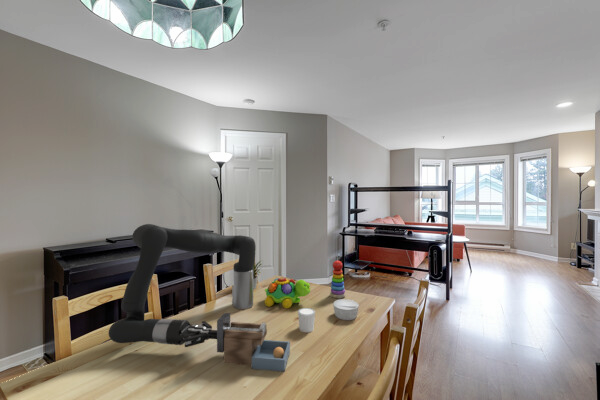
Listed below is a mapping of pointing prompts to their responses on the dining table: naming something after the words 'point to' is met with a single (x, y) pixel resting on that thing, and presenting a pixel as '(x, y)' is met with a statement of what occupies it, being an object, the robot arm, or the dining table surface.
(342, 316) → the ramekin
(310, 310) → the white cup
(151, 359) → the dining table surface
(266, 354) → the blue square tray
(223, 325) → the pusher
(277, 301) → the turtle toy
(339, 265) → the stacking toy
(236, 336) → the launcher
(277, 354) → the ball
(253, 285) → the house plant
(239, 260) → the robot arm
